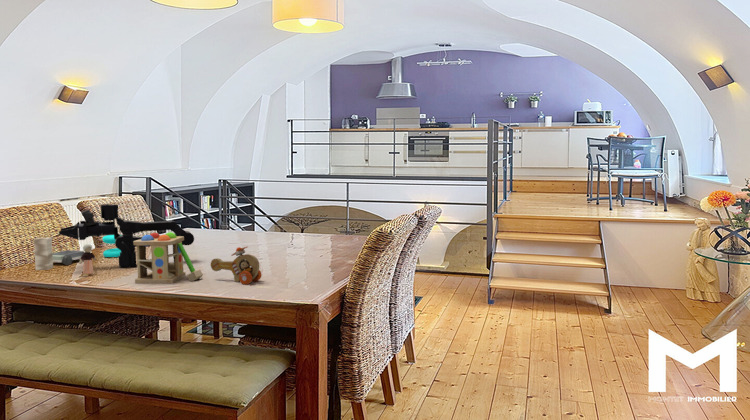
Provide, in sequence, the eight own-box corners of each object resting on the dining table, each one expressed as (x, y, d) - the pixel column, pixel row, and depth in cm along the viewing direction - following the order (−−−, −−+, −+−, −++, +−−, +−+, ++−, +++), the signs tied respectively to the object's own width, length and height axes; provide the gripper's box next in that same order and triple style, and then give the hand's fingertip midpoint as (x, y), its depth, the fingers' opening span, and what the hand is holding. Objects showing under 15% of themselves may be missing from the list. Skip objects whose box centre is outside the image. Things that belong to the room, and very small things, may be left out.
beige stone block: (53, 267, 252) (51, 237, 251) (48, 269, 247) (46, 238, 246) (40, 267, 252) (39, 237, 251) (35, 270, 247) (33, 239, 246)
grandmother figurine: (86, 277, 231) (85, 245, 230) (78, 276, 232) (76, 244, 231) (99, 273, 239) (98, 242, 237) (91, 273, 239) (89, 242, 238)
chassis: (70, 258, 275) (70, 249, 275) (93, 260, 271) (92, 250, 270) (41, 264, 260) (40, 254, 260) (64, 266, 256) (63, 255, 255)
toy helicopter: (252, 285, 215) (251, 248, 213) (205, 281, 222) (204, 245, 221) (264, 281, 222) (263, 245, 221) (218, 277, 230) (217, 242, 228)
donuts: (117, 233, 287) (129, 235, 282) (117, 254, 288) (130, 255, 282) (97, 236, 279) (110, 237, 273) (98, 257, 280) (111, 258, 274)
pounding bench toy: (207, 276, 233) (206, 231, 232) (195, 283, 219) (193, 235, 217) (150, 275, 234) (148, 231, 232) (134, 283, 220) (132, 235, 218)
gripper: (100, 208, 256) (60, 210, 250) (100, 211, 239) (56, 213, 233) (102, 233, 257) (61, 236, 251) (101, 238, 240) (58, 241, 234)
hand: (59, 231), depth 242 cm, fingers open, 9 cm apart
